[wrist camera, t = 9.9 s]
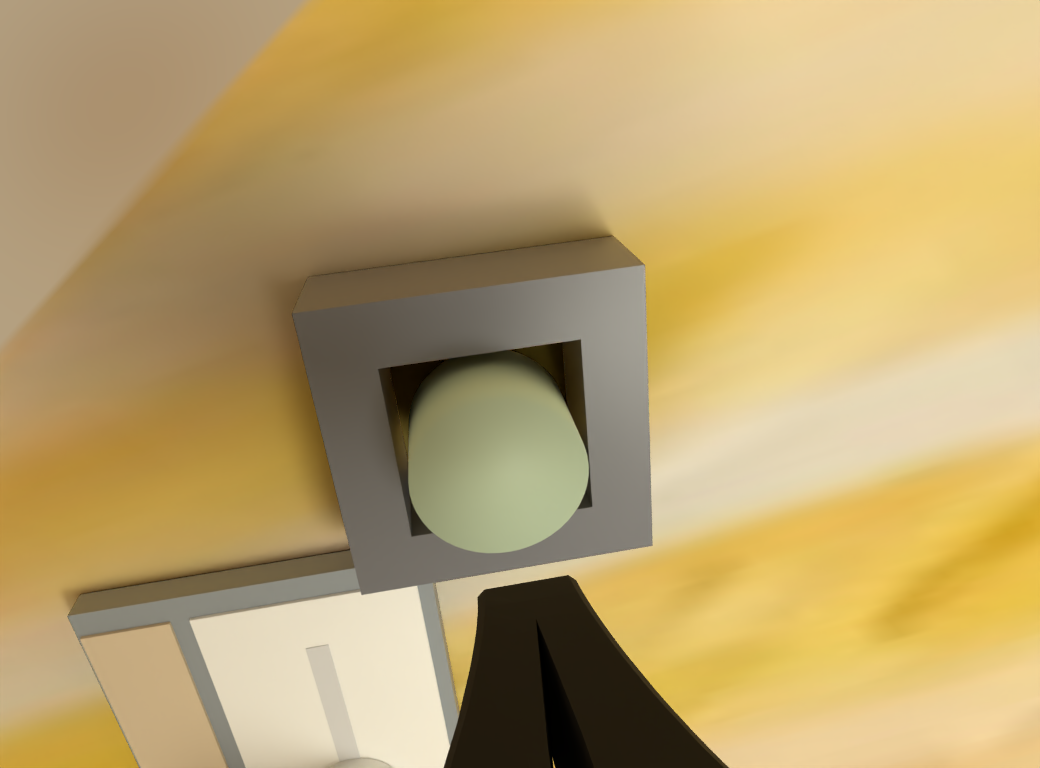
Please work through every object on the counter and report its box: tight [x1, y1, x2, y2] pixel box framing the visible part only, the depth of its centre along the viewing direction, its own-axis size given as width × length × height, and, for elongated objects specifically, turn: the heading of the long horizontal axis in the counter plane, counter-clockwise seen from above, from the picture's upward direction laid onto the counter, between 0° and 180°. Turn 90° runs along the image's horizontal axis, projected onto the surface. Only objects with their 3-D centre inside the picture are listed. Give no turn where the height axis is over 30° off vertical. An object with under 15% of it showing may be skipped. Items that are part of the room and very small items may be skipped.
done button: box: [408, 350, 589, 553], centre depth 16 cm, size 4×4×2 cm
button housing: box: [292, 236, 652, 595], centre depth 17 cm, size 7×7×2 cm
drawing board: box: [67, 550, 460, 768], centre depth 21 cm, size 9×12×1 cm
